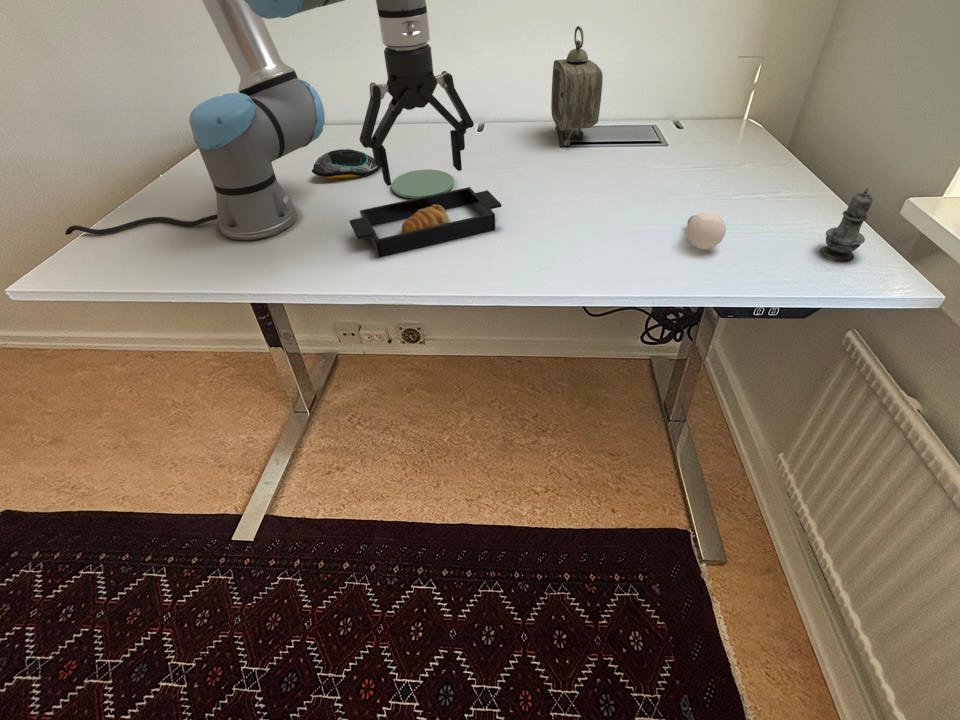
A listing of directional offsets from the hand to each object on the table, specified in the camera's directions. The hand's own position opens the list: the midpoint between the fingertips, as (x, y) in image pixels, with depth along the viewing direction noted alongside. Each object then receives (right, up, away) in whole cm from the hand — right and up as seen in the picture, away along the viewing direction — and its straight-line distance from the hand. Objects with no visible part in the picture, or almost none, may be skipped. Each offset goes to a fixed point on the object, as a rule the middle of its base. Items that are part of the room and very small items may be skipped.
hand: (423, 175), depth 99 cm
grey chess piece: (+73, -16, -5) cm, 75 cm away
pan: (0, -8, +7) cm, 11 cm away
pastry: (0, -8, +7) cm, 11 cm away
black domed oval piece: (-21, +10, +29) cm, 37 cm away
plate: (-2, +5, +22) cm, 23 cm away
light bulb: (+51, -12, 0) cm, 53 cm away
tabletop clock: (+35, +23, +40) cm, 58 cm away
